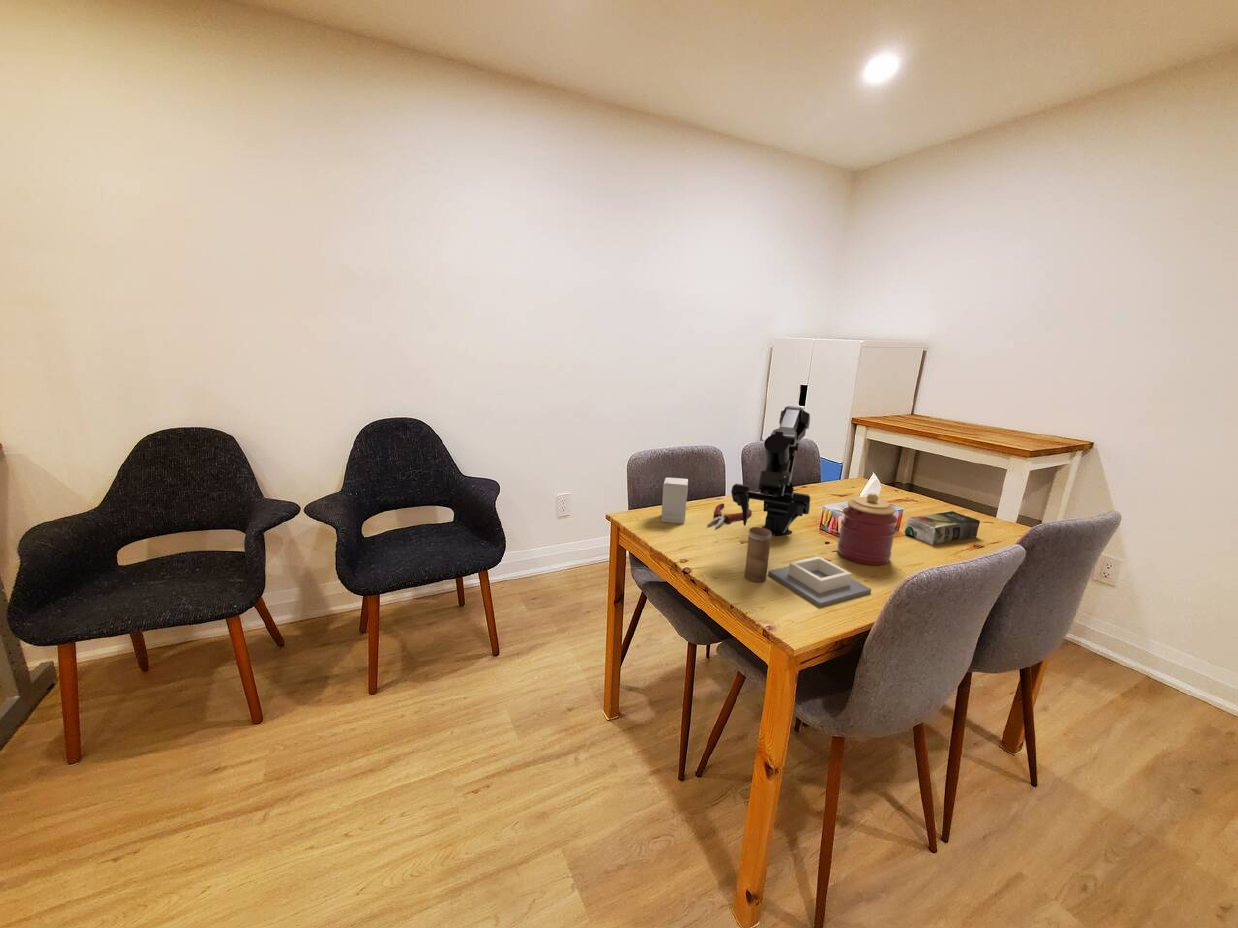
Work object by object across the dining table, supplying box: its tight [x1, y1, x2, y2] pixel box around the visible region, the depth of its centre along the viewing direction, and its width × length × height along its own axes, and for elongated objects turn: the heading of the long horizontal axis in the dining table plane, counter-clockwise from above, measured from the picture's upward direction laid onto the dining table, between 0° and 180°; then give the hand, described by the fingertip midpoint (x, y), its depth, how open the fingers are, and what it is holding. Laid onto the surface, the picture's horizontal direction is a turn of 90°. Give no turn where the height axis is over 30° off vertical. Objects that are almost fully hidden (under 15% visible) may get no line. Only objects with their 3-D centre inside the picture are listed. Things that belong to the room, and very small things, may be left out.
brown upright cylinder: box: [744, 526, 773, 583], centre depth 115 cm, size 5×5×12 cm
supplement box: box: [660, 477, 689, 525], centre depth 152 cm, size 7×7×13 cm
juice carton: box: [904, 510, 981, 546], centre depth 146 cm, size 20×10×6 cm, turn 111°
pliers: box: [706, 502, 753, 529], centre depth 154 cm, size 12×20×3 cm, turn 146°
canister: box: [837, 492, 899, 566], centre depth 129 cm, size 13×13×18 cm
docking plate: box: [767, 556, 872, 608], centre depth 114 cm, size 16×16×4 cm
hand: (763, 528), depth 118 cm, fingers open, 9 cm apart
